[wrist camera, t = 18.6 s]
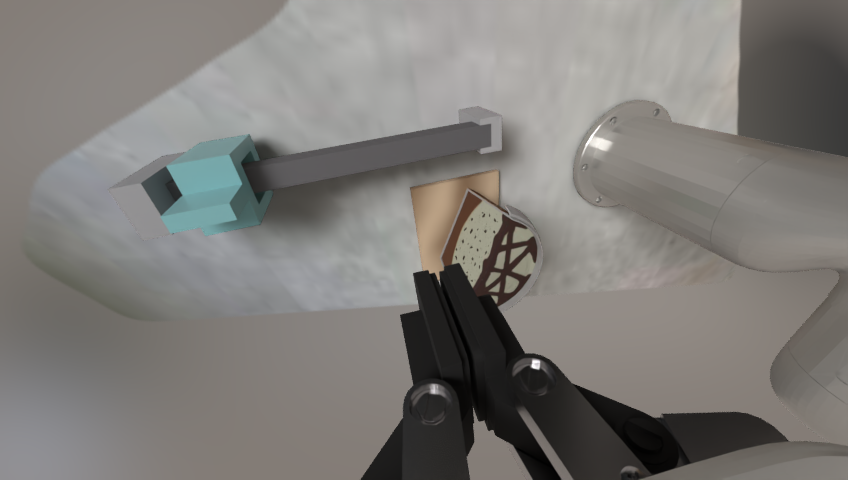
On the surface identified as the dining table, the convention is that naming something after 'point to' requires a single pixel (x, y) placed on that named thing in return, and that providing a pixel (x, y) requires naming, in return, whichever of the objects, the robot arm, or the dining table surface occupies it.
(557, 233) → the dining table surface
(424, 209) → the mat
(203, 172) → the sleeve
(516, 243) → the food container
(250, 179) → the rail
